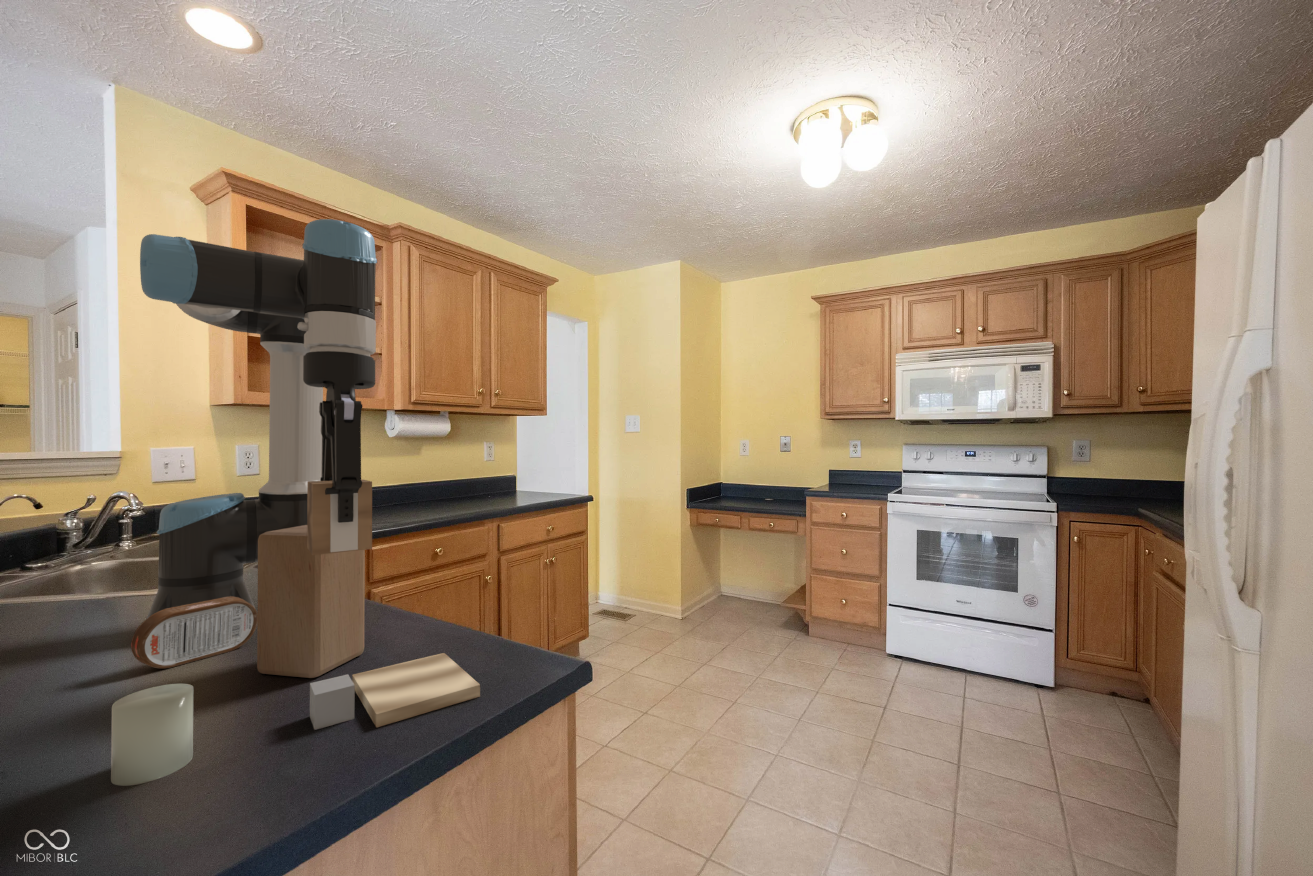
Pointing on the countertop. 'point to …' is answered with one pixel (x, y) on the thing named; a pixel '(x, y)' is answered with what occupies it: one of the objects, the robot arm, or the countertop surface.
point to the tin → (194, 632)
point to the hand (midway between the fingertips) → (339, 546)
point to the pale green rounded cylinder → (151, 734)
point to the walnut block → (321, 517)
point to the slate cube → (332, 701)
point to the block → (307, 606)
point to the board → (413, 688)
